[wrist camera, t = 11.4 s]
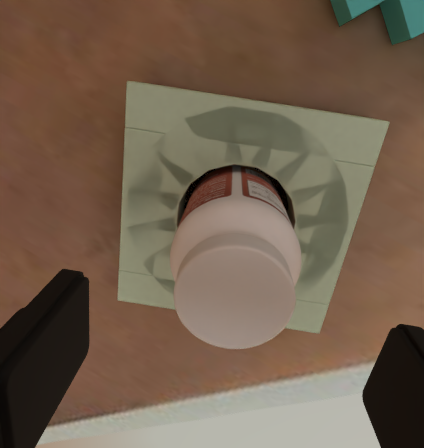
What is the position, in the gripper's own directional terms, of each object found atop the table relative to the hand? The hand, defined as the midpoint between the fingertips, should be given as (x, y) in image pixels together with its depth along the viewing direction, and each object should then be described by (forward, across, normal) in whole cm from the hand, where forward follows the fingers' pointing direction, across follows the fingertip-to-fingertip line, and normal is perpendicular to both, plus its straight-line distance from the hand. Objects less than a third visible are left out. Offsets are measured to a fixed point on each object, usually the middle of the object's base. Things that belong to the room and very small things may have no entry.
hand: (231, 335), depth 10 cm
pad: (+13, 0, +1) cm, 13 cm away
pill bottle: (+14, 0, +1) cm, 14 cm away
